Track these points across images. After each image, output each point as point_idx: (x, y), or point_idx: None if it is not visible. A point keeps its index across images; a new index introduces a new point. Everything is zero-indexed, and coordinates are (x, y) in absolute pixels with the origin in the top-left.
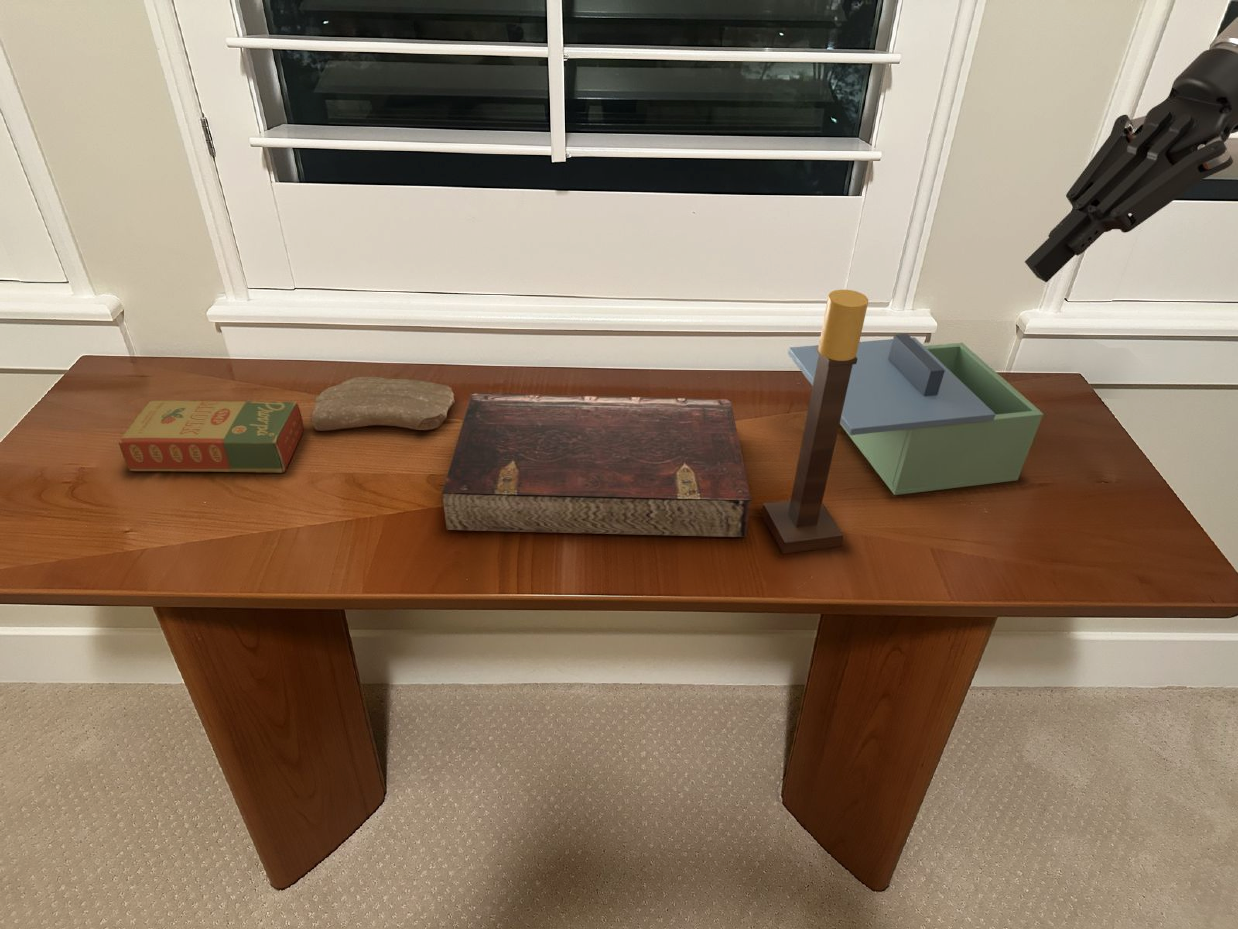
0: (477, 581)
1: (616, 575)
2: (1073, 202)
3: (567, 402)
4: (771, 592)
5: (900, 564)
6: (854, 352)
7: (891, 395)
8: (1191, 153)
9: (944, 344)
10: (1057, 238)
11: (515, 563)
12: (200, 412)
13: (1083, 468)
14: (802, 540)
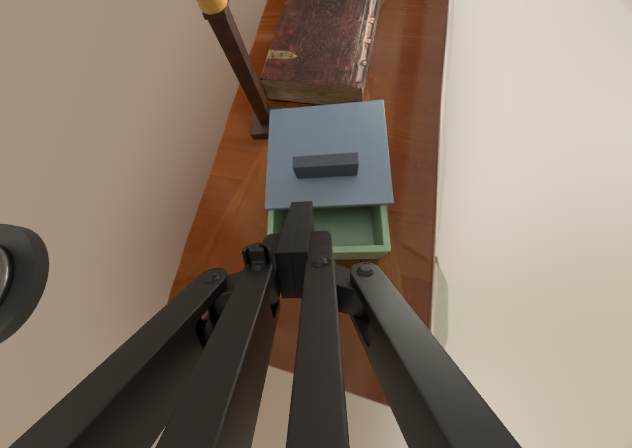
0: (269, 9)
1: (260, 51)
2: (349, 271)
3: (368, 10)
4: (234, 104)
5: (235, 161)
6: (198, 4)
7: (302, 147)
8: None
9: (388, 232)
10: (294, 222)
11: (276, 19)
12: None
13: (286, 318)
14: (252, 115)
